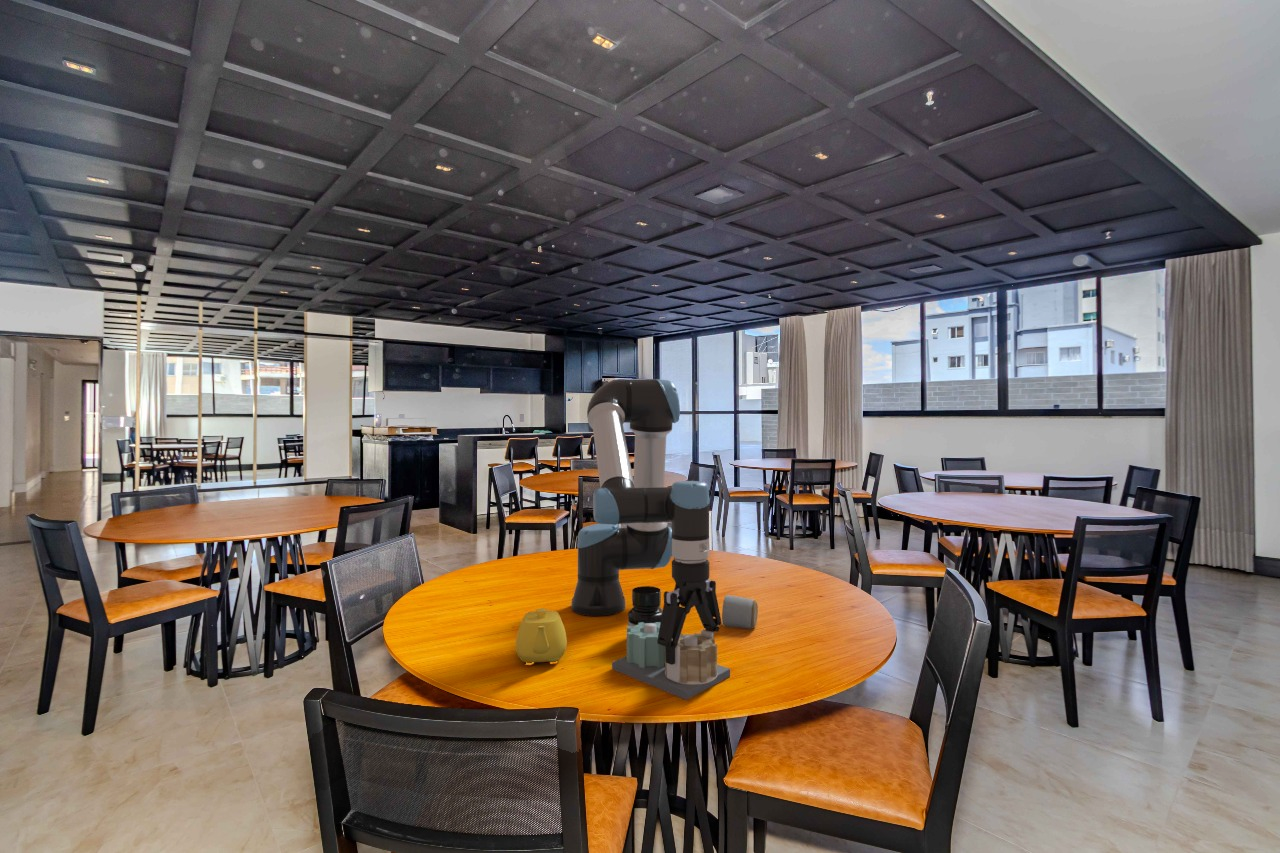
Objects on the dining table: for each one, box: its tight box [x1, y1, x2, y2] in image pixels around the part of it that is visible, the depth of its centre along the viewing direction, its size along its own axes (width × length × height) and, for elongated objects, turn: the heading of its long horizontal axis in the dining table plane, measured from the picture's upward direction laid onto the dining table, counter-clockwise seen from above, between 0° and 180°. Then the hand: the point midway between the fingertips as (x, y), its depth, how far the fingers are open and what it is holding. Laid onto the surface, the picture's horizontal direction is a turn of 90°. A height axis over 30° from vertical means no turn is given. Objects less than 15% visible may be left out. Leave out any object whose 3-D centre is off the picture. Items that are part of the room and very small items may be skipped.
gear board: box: [611, 622, 731, 701], centre depth 118 cm, size 21×14×8 cm, turn 46°
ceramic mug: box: [721, 594, 759, 630], centre depth 148 cm, size 11×8×8 cm
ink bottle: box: [627, 585, 663, 627], centre depth 137 cm, size 10×9×12 cm
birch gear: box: [665, 632, 718, 683], centre depth 115 cm, size 10×10×6 cm
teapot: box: [515, 607, 568, 663], centre depth 126 cm, size 18×11×11 cm, turn 9°
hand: (691, 670), depth 115 cm, fingers closed on birch gear, 10 cm apart
